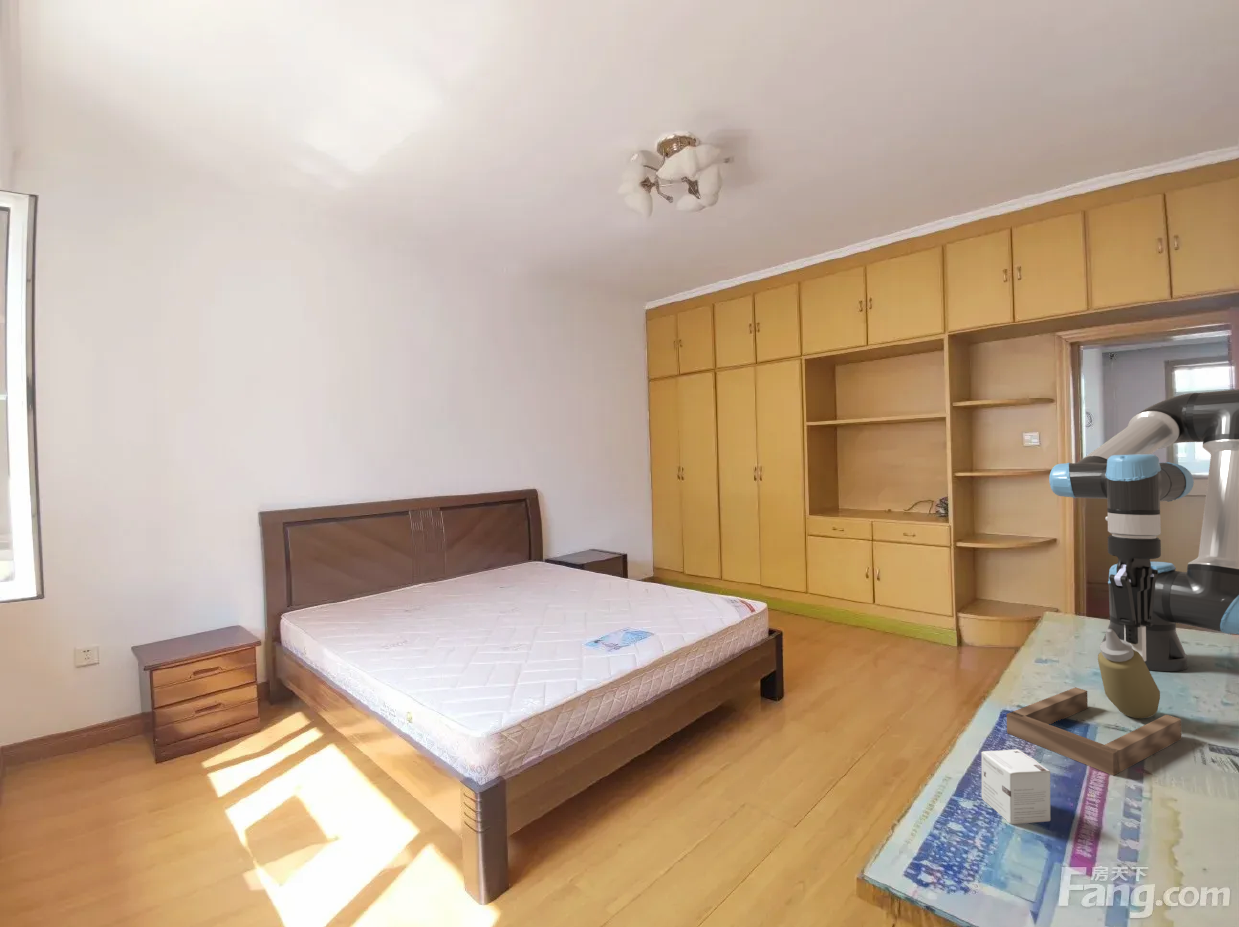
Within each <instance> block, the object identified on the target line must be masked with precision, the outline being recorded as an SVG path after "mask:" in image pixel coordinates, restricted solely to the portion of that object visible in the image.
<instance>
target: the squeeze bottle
mask: <svg viewBox="0 0 1239 927" xmlns="http://www.w3.org/2000/svg"><path fill="white" fill-rule="evenodd" d="M1105 634H1106V641H1104V642H1101V643H1100V644H1099V649H1100V652H1099V653H1098V655H1097V660H1098V661H1097V662H1098V667H1099V671H1100V676H1101V680H1102V685H1103V691H1104V694H1105V695H1106V697H1107V698H1108V700H1109V702H1111V703H1112V704H1113V706H1114V707H1115V708H1116V709H1117V710H1118V711H1120V713H1122V714H1123V715H1124V716H1127V717H1131V718H1133V719H1134V718H1135V719H1147V718H1150V717H1153V716H1155V715H1156V713H1157V712H1158V709H1159V704H1160V699H1161V692H1160V689H1159V687H1158V685H1157V684H1156V682H1155V681H1156V680H1155V679H1154V677H1153V676H1152V674H1151V672H1150V671H1151V670H1148V668H1147V666H1146V664H1145V662H1144V660H1143V658H1142V656H1141V655H1140V654H1139V652H1137V651H1135V650H1133V649H1132V646H1131V645H1130V643H1128V642H1127V641H1125V640H1121V639H1119V637H1118V636H1117V634H1116V633H1115V632H1114V630H1113V629H1108V628H1106V629H1105Z"/></svg>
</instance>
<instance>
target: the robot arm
mask: <svg viewBox="0 0 1239 927" xmlns="http://www.w3.org/2000/svg"><path fill="white" fill-rule="evenodd" d="M1179 443H1202V448H1203V449H1204V450H1206V452H1208V453H1209V454H1210V460H1209V469H1208V475H1207V476H1208V477H1207V484H1206V492H1205V501H1204V509H1203V517H1202V523H1201V524H1202V525H1201V526H1202V527H1201V530H1200V532H1201V533H1200V539H1199V540H1200V541H1199V547H1198V556H1197V557H1196V558H1195V559H1193V560H1191V561H1189V562H1188V563H1187V567H1186V571H1179V570H1177V567H1176V566H1175V564H1174V563H1172V562H1166V561H1151V560H1155V559H1159V558H1160V557H1161V556H1162V553H1161V552H1162V551H1161V550H1162V548H1161V546H1162V545H1161V543H1162V541H1161V539H1160V538H1159V537H1158V536H1160V535H1162V526H1161V525H1162V524H1161V522H1162V520H1161V502H1172V501H1176V500H1178V499H1182V498H1184V497H1185V496H1187V495H1189V493H1191V491H1192V489H1193V487H1194V484H1195V480H1194V476H1193V475H1192V473H1191V471H1190V470H1189V469H1188V468H1186V467H1185V466H1183V465H1181V464H1178V463H1173V462H1168V461H1167V462H1160V458H1159V457H1158V456H1157V455H1156V454H1153V453H1155V452H1156V451H1157V450H1160V449H1164V448H1168V447H1170V446H1171V445H1174V444H1179ZM1048 478H1049V479H1048V480H1049V482H1048V483H1049V486H1050V489H1051V491H1052V492H1053V493H1054V495H1056V496H1058V497H1066V498H1072V499H1102V500H1103V499H1104V500H1106V501H1107V502H1106V503H1107V509H1106V511H1107V516H1105V521H1106V522H1107V532H1108V533H1109V534H1110V535H1108V536H1107V553H1108V554H1109V555H1111V556H1114V557H1117V563H1116V564H1115V563H1114V564H1113V565H1111V567H1110V568H1109V570H1108V571H1109V572H1108V581H1107V584H1108V602H1109V604H1108V605H1109V624H1108V627H1107V629H1113V630H1114V632H1115V633H1116V634H1117V636H1118V637H1119V639H1121V640H1125V641H1127V642H1128V643H1130V645H1131V646H1132V649H1133V650H1135V651H1137V652H1139V654H1140V655H1141V656H1142V658H1143V660H1144V662H1145V664H1146V666H1147V668H1148V670H1149V671H1159V672H1179V671H1183V670H1187V668H1188V656H1187V654H1186V652H1185V650H1184V647H1183V645H1182V643H1181V640H1180V637H1179V636H1178V633H1177V627H1176V626H1177V624H1178V625H1179V624H1181V625H1186V626H1190V627H1195V628H1201V629H1206V630H1211V631H1216V632H1221V633H1224V634H1227V635H1229V634H1231V635H1239V389H1238V388H1237V389H1227V390H1215V391H1203V392H1191V393H1185V394H1180V395H1177V396H1173V397H1172V396H1171V397H1170V398H1167V399H1164V400H1162V401H1160V402H1157V403H1155V404H1153V405H1150V406H1148V407H1147V408H1145V409H1143V410H1141V411H1140V412H1138V413H1136V414H1135V415H1134V416H1133V417H1132V418H1131V419H1130V420H1129V422H1128V423H1127V427H1125V428H1124V429H1123V430H1121V431H1119V432H1118V433H1116V434H1115V435H1113V437H1111V438H1110V439H1108V440H1107V441H1106V442H1104V443H1103V444H1102V445H1099V447H1097V448H1096V449H1094V450H1092V451H1091V452H1090V453H1088V454H1087V455H1086V456H1085V457H1083V458H1081V460H1079V461H1077V462H1075V463H1073V462H1067V463H1066V462H1065V463H1057V464H1055V465H1054V466H1053V467H1052V468H1051V471H1050V473H1049V477H1048ZM1104 641H1106V633H1105V634H1104V637H1103V639H1102V642H1104ZM1102 642H1101V643H1102Z"/></svg>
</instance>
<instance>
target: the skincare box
mask: <svg viewBox="0 0 1239 927" xmlns="http://www.w3.org/2000/svg"><path fill="white" fill-rule="evenodd" d="M980 755H981V799H982V800H983V801H984V802H985V803H986V804H987V805H988V806H990V807H991V808H992V810H994V811H996V813H998V814H999V815H1000V816H1001V817H1002V818H1004V820H1005V821H1007V822H1008V824H1011V825H1018V824H1019V825H1021V824H1031V823H1042V822H1043V823H1044V822H1050V821H1051V770H1049V769H1048V768H1047V767H1045V766H1044V765H1042V764H1040V763H1039V762H1038V761H1037V760H1036V759H1035V758H1033V757H1031V756H1029V755H1027V754H1026V753H1024V752H1023V751H1022V750H1020V749H1017V748H1016V749H1004V750H1003V749H1002V750H984V751H981V754H980Z"/></svg>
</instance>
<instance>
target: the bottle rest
mask: <svg viewBox="0 0 1239 927" xmlns="http://www.w3.org/2000/svg"><path fill="white" fill-rule="evenodd" d="M1088 701H1089V700H1088V690H1086V689H1083V688H1080V687H1075V686H1074V687H1073V688H1070V689H1068V690H1064V691H1062V692H1060V693H1057V694H1055V695H1052V696H1049V697H1047V698H1044V699H1041V700H1039V701H1037V702H1034V703H1031V704H1029V705H1026V706H1024V707H1020V708H1018V709H1016V710H1013V711H1011V712H1008V713H1006V734H1009V735H1011V736H1013V737H1015V738H1019V739H1020V740H1021V739H1022V740H1023V741H1026V742H1028V743H1031V744H1033V745H1036V746H1038V747H1041V748H1044V749H1045V750H1049V751H1051V752H1053V753H1056V754H1059V755H1061V756H1063V757H1066V758H1068V759H1071V760H1074V761H1076V762H1078V763H1081V764H1084V765H1086V766H1088V767H1091V768H1092V769H1096V770H1099V771H1101V772H1104V773H1106V774H1108V775H1111V776H1116V775H1117V774H1119V773H1122V772H1123V771H1125V770H1126V769H1129V768H1130V767H1132V766H1134V765H1136V764H1137V763H1140V762H1141V761H1144V760H1146V759H1147V758H1150V757H1151V756H1152V755H1154V754H1157V753H1159V752H1160V751H1162V750H1163V749H1167V747H1169V746H1171V745H1173V744H1175V743H1176V742H1177V743H1178V742H1179V741H1181V740H1182V719H1181V718H1179V717H1175V716H1173V715H1172V716H1171V715H1170V714H1169V715H1168V714H1164V715H1162V716H1161V717H1159V718H1156V719H1154V720H1153V721H1151V722H1147V724H1144V725H1143V726H1140V727H1138V728H1136V729H1134V730H1131V731H1130V732H1128V733H1126V734H1123V735H1121V736H1120V737H1117V738H1115V739H1113V740H1111V741H1110V742H1107V743H1105V744H1103V743H1101V742H1098V741H1096V740H1092V739H1090V738H1087V737H1084V736H1082V735H1079V734H1075V733H1074V732H1071V731H1068V730H1065V729H1062V728H1060V727H1057V726H1055V725H1052V724H1054V722H1055V723H1056V721H1057V722H1059V721H1062V720H1064V719H1066V718H1068V717H1071V716H1074V715H1075V714H1078V713H1080V712H1083V711H1085V710H1088V708H1089V707H1088ZM1061 719H1062V720H1061ZM1058 720H1059V721H1058ZM1049 724H1050V725H1049Z"/></svg>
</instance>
